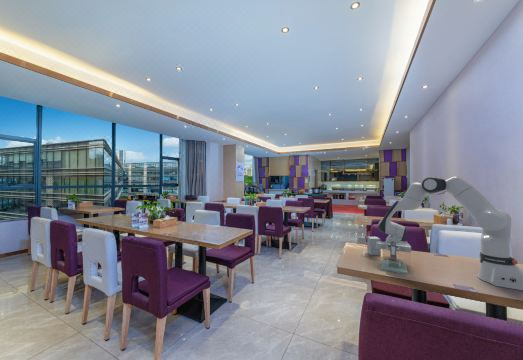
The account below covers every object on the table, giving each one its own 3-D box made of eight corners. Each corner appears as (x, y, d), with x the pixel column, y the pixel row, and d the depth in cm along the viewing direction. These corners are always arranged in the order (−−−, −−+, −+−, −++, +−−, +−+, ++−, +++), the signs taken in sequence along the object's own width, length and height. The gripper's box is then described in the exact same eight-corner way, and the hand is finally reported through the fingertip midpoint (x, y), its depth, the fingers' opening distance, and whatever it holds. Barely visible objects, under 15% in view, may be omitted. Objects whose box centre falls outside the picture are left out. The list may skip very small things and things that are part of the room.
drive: (390, 255, 147) (390, 241, 147) (396, 256, 145) (395, 242, 145) (390, 258, 142) (390, 243, 142) (396, 258, 140) (396, 244, 140)
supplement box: (376, 252, 173) (376, 236, 174) (381, 255, 166) (380, 238, 166) (367, 252, 174) (366, 236, 174) (370, 255, 167) (370, 238, 167)
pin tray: (381, 261, 154) (381, 256, 154) (405, 264, 147) (405, 259, 147) (380, 269, 139) (380, 264, 139) (407, 274, 132) (407, 268, 132)
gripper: (376, 238, 160) (375, 242, 148) (410, 241, 150) (412, 247, 138) (376, 246, 160) (375, 252, 148) (410, 251, 150) (412, 257, 138)
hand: (393, 249), depth 143 cm, fingers closed on drive, 3 cm apart
